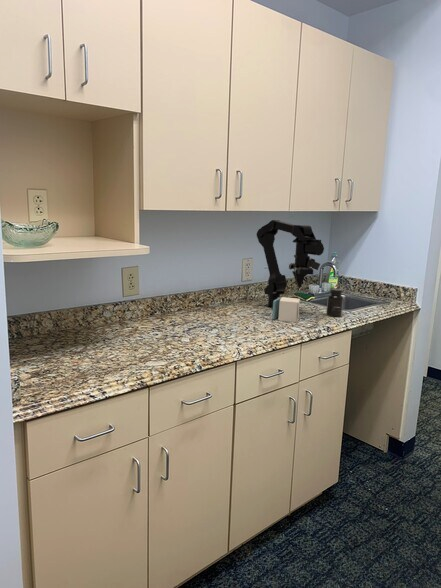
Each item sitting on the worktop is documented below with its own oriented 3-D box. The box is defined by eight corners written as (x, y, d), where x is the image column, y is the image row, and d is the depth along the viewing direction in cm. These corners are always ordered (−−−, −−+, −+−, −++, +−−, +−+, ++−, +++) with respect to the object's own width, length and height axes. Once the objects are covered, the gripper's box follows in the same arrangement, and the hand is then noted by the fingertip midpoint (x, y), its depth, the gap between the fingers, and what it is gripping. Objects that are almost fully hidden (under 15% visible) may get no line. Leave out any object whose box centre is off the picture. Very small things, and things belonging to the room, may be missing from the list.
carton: (280, 316, 202) (281, 297, 200) (298, 317, 200) (299, 298, 198) (278, 320, 193) (279, 300, 192) (297, 322, 191) (298, 302, 190)
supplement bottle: (335, 317, 203) (337, 291, 201) (323, 314, 208) (325, 289, 206) (344, 316, 207) (347, 290, 205) (332, 313, 212) (334, 287, 210)
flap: (276, 314, 203) (277, 297, 201) (280, 315, 202) (281, 297, 201) (270, 319, 194) (271, 300, 193) (273, 319, 194) (275, 301, 192)
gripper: (326, 255, 197) (323, 291, 199) (312, 251, 215) (310, 284, 218) (301, 255, 195) (298, 290, 198) (289, 251, 213) (287, 283, 216)
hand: (299, 287), depth 207 cm, fingers closed
